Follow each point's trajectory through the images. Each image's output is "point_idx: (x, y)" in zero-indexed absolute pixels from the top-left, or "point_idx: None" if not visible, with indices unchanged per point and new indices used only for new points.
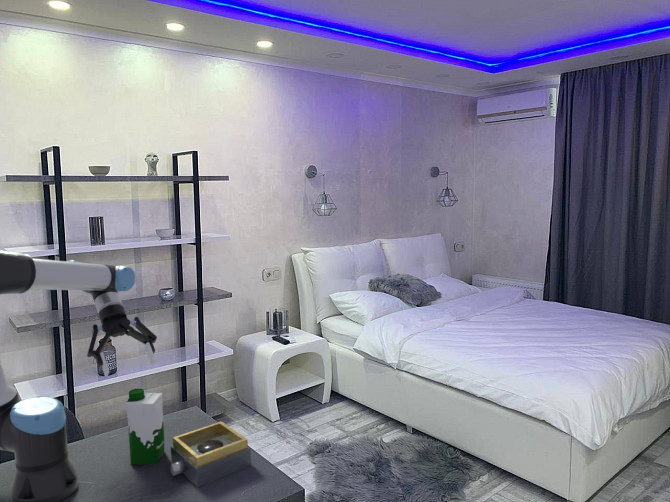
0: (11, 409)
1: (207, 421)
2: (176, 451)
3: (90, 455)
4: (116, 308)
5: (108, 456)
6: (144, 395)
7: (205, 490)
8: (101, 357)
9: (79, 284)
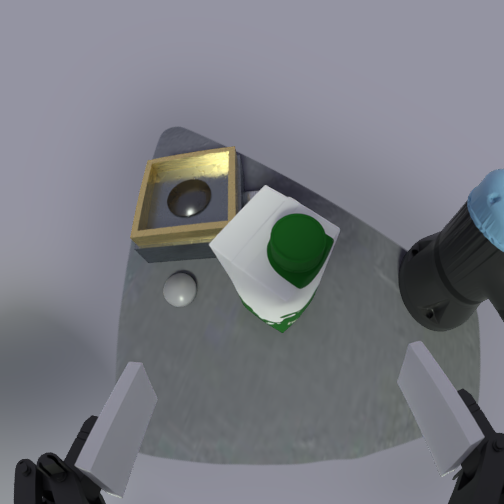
0: None
1: (121, 369)
2: None
3: (370, 379)
4: None
5: (342, 354)
6: (267, 253)
7: None
8: (466, 419)
9: None
